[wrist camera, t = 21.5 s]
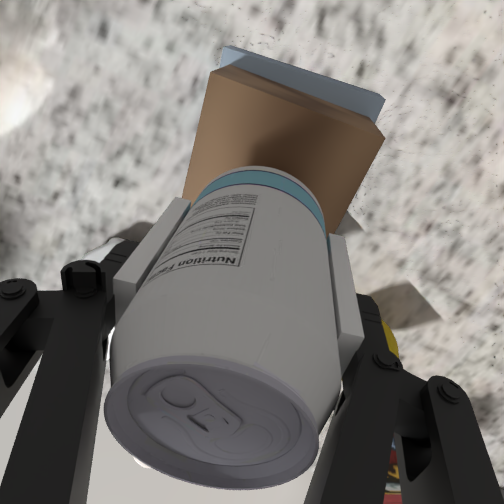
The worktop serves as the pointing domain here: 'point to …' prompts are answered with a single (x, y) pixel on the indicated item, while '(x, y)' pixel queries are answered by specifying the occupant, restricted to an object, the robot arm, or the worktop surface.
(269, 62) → the base brick
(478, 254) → the worktop surface
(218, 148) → the walnut brick
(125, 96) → the worktop surface
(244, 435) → the beverage can
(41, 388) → the robot arm
